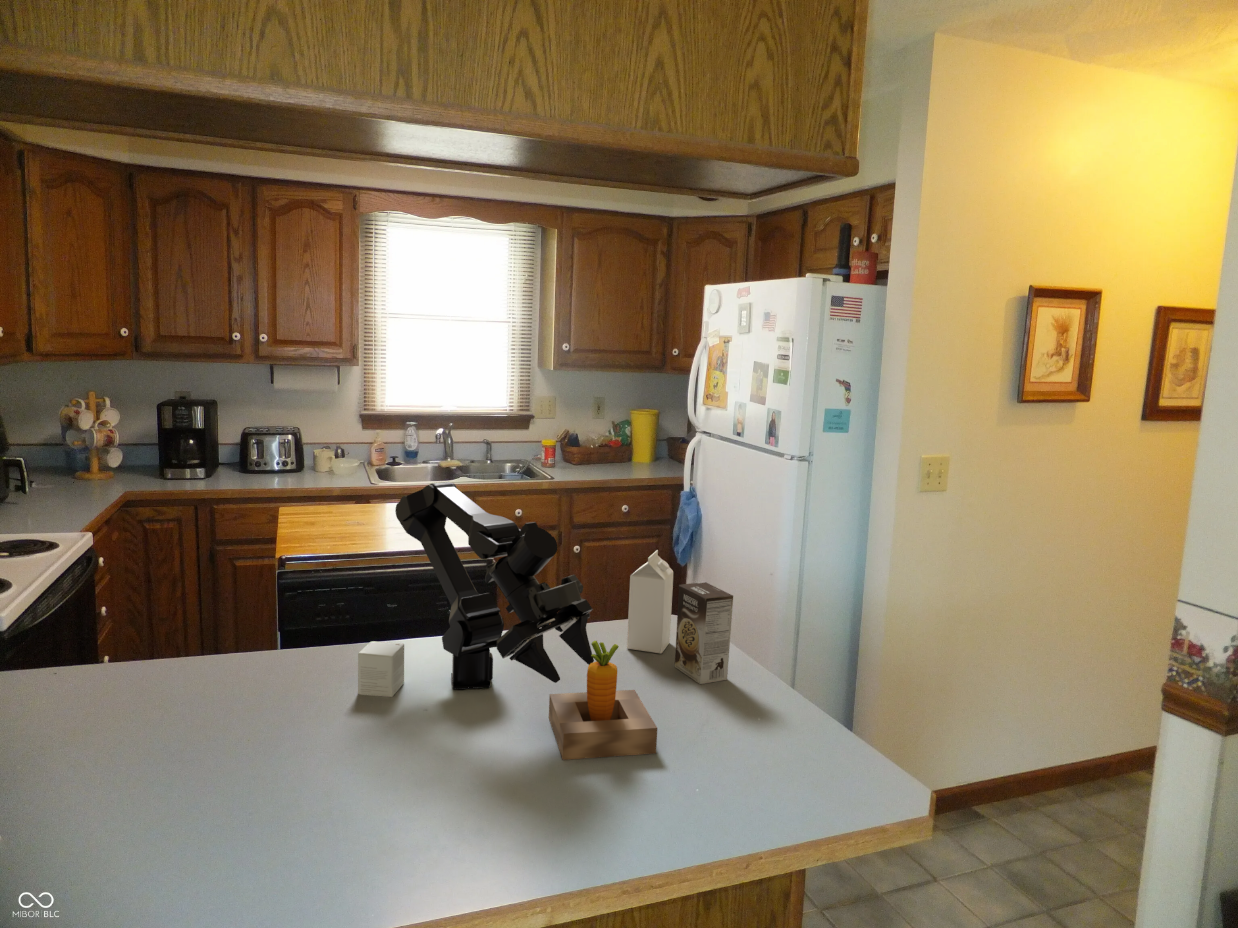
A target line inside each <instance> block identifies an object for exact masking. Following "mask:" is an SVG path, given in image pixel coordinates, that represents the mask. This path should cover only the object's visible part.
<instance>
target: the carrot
mask: <svg viewBox="0 0 1238 928" xmlns="http://www.w3.org/2000/svg"><path fill="white" fill-rule="evenodd" d="M591 646H592V648H593V650H594V652H595V654H594V653H592V655H591V656H592V657H593V659H594V662H593V663H591V664H590V665H588V666H587V673H586V692H587V701H588V708H589V714H590V718H591V721H603V720H610V719H611V716H612V712H613V708H614V703H615V697H616V691H617V683H618V681H617V680H618V667H617V665H616V664H615V663H613V662H610V661H611V659H612V657H613V656H614V654H615V653H616V652H617V650H618V648H619V645H618V644H616V643H614V644H613V645H612V646H611V647H610V650H609V651H607V647H606V645H605V643H604V642H598V640H594V641H592V642H591Z"/></svg>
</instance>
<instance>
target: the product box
mask: <svg viewBox="0 0 1238 928" xmlns="http://www.w3.org/2000/svg"><path fill="white" fill-rule="evenodd" d="M357 657H358V658H357V660H358V661H357V667H358V668H357V669H358V670H357V676H358V677H357V693H358V695H359V696H372V697H373V696H376V697H387V698H393V697H394V696H395V694H396V693H397V692H398V691H399V690H400V688H401V687H402V686H403V685H404V684H405V644H404V643H402V642H390V641H389V642H388V641H387V642H385V641H374V640H373V641H370V642H368V644H367V645H365V646H364V647H363V648H362V649H361V650H360V651H359V652H358V653H357Z"/></svg>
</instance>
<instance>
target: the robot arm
mask: <svg viewBox="0 0 1238 928" xmlns="http://www.w3.org/2000/svg"><path fill="white" fill-rule="evenodd" d="M395 516H396V519H397V520H398V522H399V524H400V525H401V526H402V529H403V530H404V532H405V533H406V534H408V536H411V537H412V538H414V539H415V540H417V541H419V543H420V544H421V547H422V548H423V550H424V553H425V554H426V556H427V559H428V561H429V563H430V565H431V566H432V569H433V571H434V573H435V575H436V577H437V579H438V582H439V584H440V585H441V587H442V590H443V592H444V593H445V596H446V598H447V599H448V602H449V604H450V611H449V612H450V613H449V618H448V624H449V628H448V629H447V630H446V632H444V634H443V635H442V637H441V640H442V641H441V642H442V645H443V646H442V648H443V650H444V651H446V652H448V653H450V654H452V660H451V661H452V665H451V666H452V667H451V668H452V669H451V670H452V672H451V674H450V675H451V679H450V680H451V689H453V690H466V689H485V688H487V689H488V688H491V686H492V685H491V681H492V680H493V676H494V657H493V653H492V652H491V649H492V648H496V650H497V652H498V654H499V655H500V657H501V658H502V659H505V658H508V657H509V660H510V661H511V662H512V661H516V662H518V663H520V664H522V665H524V666H526V667H527V668H530V669H531V670H533V671H535V672H536V673H538V674H539V675H541V676H543V677H545V678H546V679H548V680H549V681H551V682H553V683H555V684H556V683H558V682H559V681H560V680H561V677H560V674H559V673H558V670H557V669H556V667H555V665H554V664H553V662H552V661H553V660H551V658H550V656H549V654H548V653H547V651H546V649H545V646H544V634H545V633H547V632H549V631H551V630H553V629H555V631H558V632H560V634H559V635H558V637H559V638H560V639H562V641H563V642H564V643H565V644H566V645H567V646H568V647H569V648H570V649H571V650H572V651H573V652H574V653H575V654H576V655H577V656H578V657H579V658H580V659H581V660H582V661H583V662H585V663H586V664H587V665H588V666H589V665H590V664H591V663H593V662H595V659H594V658H593V657H592V656H591V655H592V654H593V652H592V648H591V643H590V641H589V638H588V633H587V626H588V625H587V624H588V619H590V617H591V613H590V612H592V611H593V607H592V606H591V605H590V603H589V602H588V600H587V599H586V598H585V599H584V598H582V596H581V594H582V593H583V591H584V585H583V584H582V583H581V581H580V580H579V579H578V577H577V576H576V575H575V574H572V575H569V576H566V577H563V578H562V579H561V581H560V582H561V583H560V584H559V585H558V586H554V587H550V585H549V584H548V583H547V582H545V581H544V582H540V583H539V581H538V579H537V578H536V577H535V576H536V575H537V574H539V573H540V572H541V571H542V570H543V568H544V567H546V565H547V564H548V563H549V562H550V561H551V559H553V558H554V556H555V555H556V554H557V552H558V542H557V539H556V537H554V536H553V535H552V534H551V533H550V532H549V531H548V530H546V529H544V528H541V527H539V526H538V524H537V522H536V521H532V522H525V523H524V524H523V525H522V527H521V528H520V527H519V526H518V524H516V522H515V521H513V520H512V519H509V518H506V517H504V516H502V515H496V514H491V513H489V512H487V511H485V510H484V509H483V508H481V506H479V505H478V504H477V503H475V502H474V501H473V500H472V499H470V498H469V497H468V496H467V495H465V494H464V493H462V492H461V491H460V490H459V489H458V488H457V485H456V484H455V483H454V482H450V481H446V482H445V481H443V482H442V481H441V482H434V483H433V482H432V483H429V484H427V485H425V486H424V487H423V488H422V489H419V490H418V491H415V492H412V493H410V494H408V495H403V496H402V497H401V498H400V500H399V502H397V503H396V505H395ZM447 519H449V520H450V521H451V522H452V523H453V524H455V525H456V526H457V527H458V528H459V529H461V531H462V532H464V533H465V534H466V535H467V538H468V540H467V543H468V544H467V545H468V546H469V547H470V548H471V550H472V551H473V552H474V554H476V556H477V557H478V558H479V559H481V560H489V559H494V558H499V559H498V560H497V561H496V562H494V563H490V564H488V565H487V566H486V572H485V573H486V574H485V577H484V581H485V583H486V584H489V583H492V582H493V581H494V582H495V584H496V585H497V586H498V589H499V590H500V591H501V593H502V594H503V597H504V598H505V600H506V601H507V603H508V605H507V606H506V607H505V609H506V611H507V613H508V614H510V613H512V612H514V613H515V615H516V616H517V618H518V619H519V621H520V622H519V623H516V624H514V625H512V626H511V627H510V628H509V629H508V630H507V631H506V632H505V633H503V631H504V627H505V623H504V618H503V617H502V614H501V611H502V610H501V609H500V608H499V607H498V606H497V603H496V601H495V599H494V596H493V595H492V594H491V593H490V592H486V593H479V592H478V590H476V588H475V585H474V584H473V582H472V580H471V577H470V576H469V574H468V572H467V569H466V567H465V565H464V564H463V562H462V560H461V558H460V556H459V554H458V552H457V550H456V548H455V546H454V544H453V542H452V540H451V538H450V536H449V534H448V532H447V530H446V522H447ZM502 634H503V635H502Z"/></svg>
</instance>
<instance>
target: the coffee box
mask: <svg viewBox="0 0 1238 928" xmlns="http://www.w3.org/2000/svg"><path fill="white" fill-rule="evenodd" d="M677 599H678V601H677V614H676V615H677V616H676V618H677V619H676V635H675V652H674V653H675V654H674V668H676V669H677V670H679V671H680V672H681V673H683V674H684V675H686V676H687V677H689V678H691V680H693V681H694V682H696V683H697V684H699V685H704V684H710V683H715V682H721V681H727V680H728V675H729V674H728V672H729V659H730V647H731V646H730V645H731V633H732V620H733V618H732V617H733V607H734V605H733V604H734V595H733V594H731V593H728V592H726V591H724V590H723V589H720V588H718V587H717V586H715V585H712V584H710V583H708V582H700V583H698V582H691V583H683V584H678V598H677Z"/></svg>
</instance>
